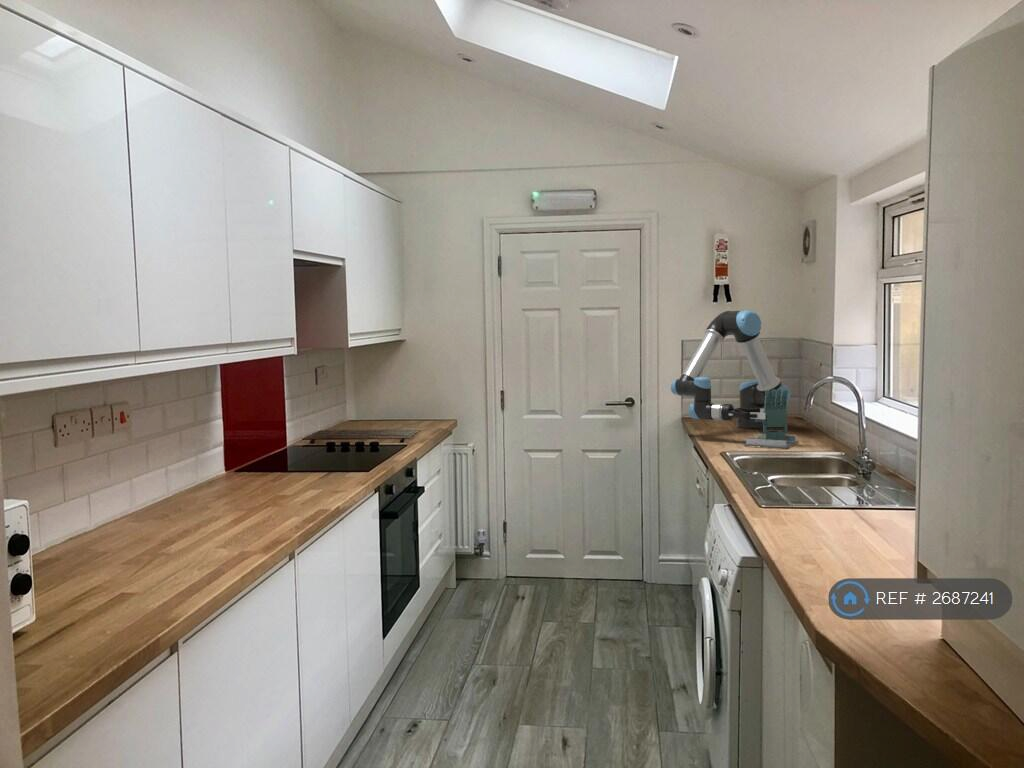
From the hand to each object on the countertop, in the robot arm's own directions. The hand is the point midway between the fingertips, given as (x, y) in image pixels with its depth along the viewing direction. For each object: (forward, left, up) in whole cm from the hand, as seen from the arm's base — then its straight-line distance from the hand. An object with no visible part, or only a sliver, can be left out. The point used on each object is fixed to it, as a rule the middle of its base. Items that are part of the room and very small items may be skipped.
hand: (770, 414), depth 354 cm
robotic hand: (0, +1, -13) cm, 13 cm away
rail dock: (0, 0, -13) cm, 14 cm away
